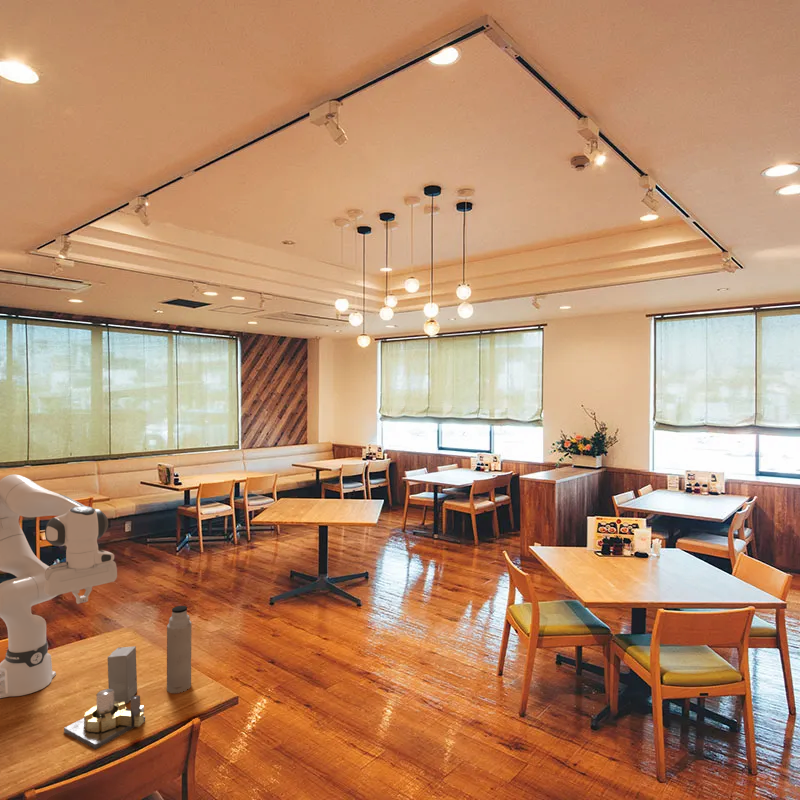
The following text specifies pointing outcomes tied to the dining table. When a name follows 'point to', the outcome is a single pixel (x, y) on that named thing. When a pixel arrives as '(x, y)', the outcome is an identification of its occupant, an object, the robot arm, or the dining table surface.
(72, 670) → the dining table surface
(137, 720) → the tan ring with handle
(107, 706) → the grey peg base
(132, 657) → the skincare box
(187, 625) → the thermos bottle
